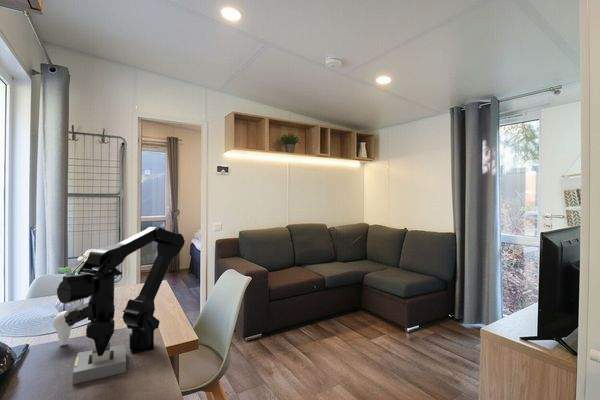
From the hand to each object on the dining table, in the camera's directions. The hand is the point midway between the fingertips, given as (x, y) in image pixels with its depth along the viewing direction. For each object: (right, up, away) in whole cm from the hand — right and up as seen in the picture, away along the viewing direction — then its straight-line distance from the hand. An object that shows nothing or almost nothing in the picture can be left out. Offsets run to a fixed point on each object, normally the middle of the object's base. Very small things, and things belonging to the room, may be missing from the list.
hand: (101, 348), depth 88 cm
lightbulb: (-21, -5, +13) cm, 25 cm away
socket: (0, -5, 0) cm, 5 cm away
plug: (0, -5, 0) cm, 5 cm away
